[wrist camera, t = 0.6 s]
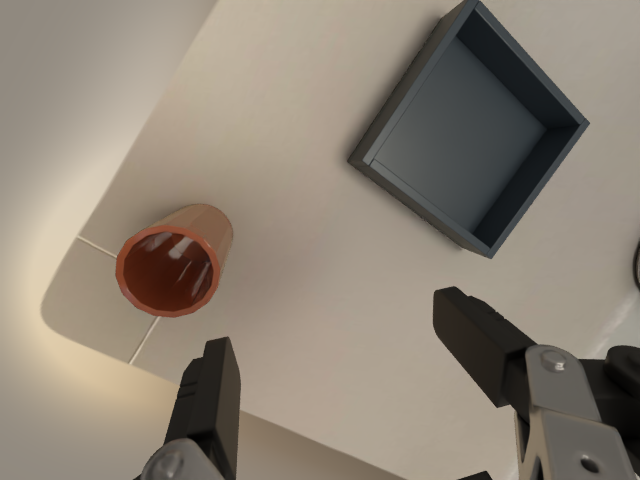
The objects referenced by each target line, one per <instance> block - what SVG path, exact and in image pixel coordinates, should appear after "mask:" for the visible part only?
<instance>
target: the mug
mask: <svg viewBox="0 0 640 480" xmlns="http://www.w3.org/2000/svg"><path fill="white" fill-rule="evenodd" d="M636 273H637V279H638V281H639V284H640V249H639V251H638V256H637V261H636Z"/></svg>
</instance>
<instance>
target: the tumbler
mask: <svg viewBox="0 0 640 480" xmlns="http://www.w3.org/2000/svg"><path fill="white" fill-rule="evenodd" d="M232 240H233V230H232V226H231V223H230V221H229V220H228V218H227V217H226V216H225V214H224V213H222V212H221V211H220V210H219V209H217V208H215V207H213V206H210V205H206V204H193V205H189V206H186V207H184V208H182V209H180V210H178V211H176V212H174V213H172V214H171V215H169V216H167V217H165V218H163V219H161V220H160V221H158V222H156V223H154V224H152V225H150V226H148V227H147V228H145V229H143V230H141V231H140V232H138V233H137V234H136V235H134V236H133V237H131V238H130V239H128V240H127V241H126V243H125V244H124V246H123V248H122V249H121V251H120V253H119V254H118V256H117V261H116V273H115V275H116V279H117V281H118V284H119V287H120V289H121V292H122V293H123V295H124V296H125V297H126V298H127V299H128V300H129V301H130V302H131V303H132V304H133V305H134V306H135V307H136V308H138V309H140V310H143V311H145V312H147V313H149V314H151V315H153V316H154V315H155V316H162V317H173V318H174V317H179V316H183V315H187V314H190V313H193V312H195V311H197V310H198V309H199V308H201V307H202V306H204V305H205V304H207V303H208V302H209V301H210V299H211V297H212V296H213V294H214V293H215V291H216V290H217V288H218V285H219V282H220V279H221V276H222V273H223V270H224V267H225V264H226V261H227V258H228V255H229V252H230V249H231V245H232Z"/></svg>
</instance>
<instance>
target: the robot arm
mask: <svg viewBox="0 0 640 480" xmlns="http://www.w3.org/2000/svg"><path fill="white" fill-rule="evenodd" d="M433 327H434V330H435V332H436V335H437V336H438V338H439V339H440V340H441V341H442V343H443V344H444V345H445V346H446V347H447V349H448V350H449V351H450V352H451V353H452V355H453V356H454V357H455V358H456V359H457V361H458V362H459V363H460V364H461V365H462V367H463V368H464V369H465V370H466V371H467V373H468V374H469V375H470V376H471V377H472V379H473V380H474V381H475V382H476V383H477V385H478V386H479V387H480V388H481V389H482V391H483V392H484V393H485V394H486V395H487V397H488V398H489V399H490V400H491V401H492V403H493V404H494V405H495V406H496V407H497V408H499V407H503V406H506V405H509V404H510V405H511V406H512V407H513V408H514V409H515V413H514V422H515V434H516V445H517V457H518V469H519V480H637V478H636V475H635V473H636V474H637V475H638V476H639V477H640V348H637V347H632V346H624V345H621V346H614V347H612V348H610V349H609V350H608V353H607V356H606V359H605V360H597V359H577V358H576V357H575V356H573V355H572V354H570V353H569V352H567V351H565V350H563V349H560V348H558V347H555V346H550V345H541V344H540V345H538V344H537V343H535V342H534V341H533V340H532V339H530V338H529V337H528V336H527V335H525V334H524V333H523V332H522V331H520V330H519V329H518V328H517V327H515V326H514V325H513V324H512V323H510V322H509V321H508V320H507V319H504V317H503V316H502V315H500V314H499V313H498V312H495V310H494V309H493V308H492V307H490V306H489V305H488V304H487V303H485V302H484V301H482V300H479V299H477V298H475V297H473V296H467V295H465V294H464V293H463V292H462V291H461V290H459V289H458V288H457V287H455V286H453V287H448V288H444V289H439V290H436V291H435V292H434V298H433ZM240 390H241V380H240V372H239V368H238V364H237V361H236V358H235V354H234V351H233V348H232V344H231V341H230V338H229V337H228V336H227V337H223V338H219V339H214V340H210V341H207V342H206V345H205V349H204V354H203V357H201V358H197V359H193V360H192V361H191V363H190V364H189V366H188V367H187V368H186V370H185V371H184V373H183V376H182V380H181V384H180V388H179V391H178V394H177V399H176V402H175V405H174V409H173V412H172V416H171V419H170V423H169V427H168V430H167V434H166V437H165V441H164V444H163V446H162V447H161V448H159V449H158V450H157V451H156V452H155V453H154V454H153V456H151V457H150V459H149V461H148V462H147V463H146V465H145V466H144V469H143V471H142V474H140V475H139V476H138V477H136V478H135V479H133V480H236V467H237V448H238V429H239V428H238V427H239V409H240ZM634 472H635V473H634ZM458 480H492V478H491V477H490V475H489V474H488V472H487V471H483V472H480V473H477V474H474V475H471V476H468V477H465V478H461V479H458Z"/></svg>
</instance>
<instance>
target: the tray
mask: <svg viewBox="0 0 640 480" xmlns="http://www.w3.org/2000/svg"><path fill="white" fill-rule="evenodd" d="M589 124H590V122H589V121H588V120H587V119H586V118H585V117H584V116H583V115H582V114H581V113H580V112H579V110H578V109H577V108H576V107H575V106H574V105H573V104H572V103H571V102H570V100H569V99H568V98H567V97H566V96H565V95H564V94H563V93H562V91H561V90H560V89H559V88H558V87H557V86H556V85H555V84H554V83H553V81H552V80H551V79H550V78H549V77H548V76H547V75H546V74H545V72H544V71H543V70H542V69H541V68H540V67H539V66H538V65H537V64H536V62H535V61H534V60H533V59H532V58H531V57H530V56H529V55H528V53H527V52H526V51H525V50H524V49H523V48H522V47H521V46H520V45H519V43H518V42H517V41H516V40H515V39H514V38H513V37H512V36H511V34H510V33H509V32H508V31H507V30H506V29H505V28H504V27H503V26H502V24H501V23H500V22H499V21H498V20H497V19H496V18H495V17H494V15H493V14H492V13H491V12H490V11H489V10H488V9H487V8H486V7H485V5H484V4H483V3H482V2H481V1H479V0H463V1H462V2H461V3H460V4H459V5H457V6H456V7H455V8H454V9H452V10H451V11H450V12H449V13H447V14H446V15H445V16H444V17H442V19H441V20H440V22H439V23H438V25H437V26H436V28H435V29H434V31H433V32H432V34H431V35H430V37H429V38H428V40H427V41H426V43H425V44H424V46H423V47H422V49H421V50H420V52H419V53H418V55H417V56H416V58H415V59H414V61H413V63H412V64H411V66H410V67H409V69H408V70H407V72H406V73H405V75H404V76H403V78H402V79H401V81H400V82H399V84H398V85H397V87H396V88H395V90H394V91H393V93H392V94H391V96H390V97H389V99H388V100H387V102H386V103H385V105H384V106H383V108H382V110H381V111H380V113H379V114H378V116H377V117H376V119H375V120H374V122H373V123H372V125H371V126H370V128H369V129H368V131H367V132H366V134H365V135H364V137H363V138H362V140H361V141H360V143H359V144H358V146H357V147H356V149H355V150H354V152H353V153H352V155H351V157H350V158H349V160H348V163H350V164H351V165H353V166H354V167H355V168H357V169H358V170H359V171H361V172H362V173H363V174H365V175H366V176H367V177H369V178H370V179H371V180H373V181H374V182H375V183H377V184H378V185H379V186H381V187H382V188H383V189H385V190H386V191H387V192H389V193H390V194H391V195H393V196H394V197H395V198H397V199H398V200H399V201H401V202H402V203H403V204H405V205H406V206H407V207H409V208H410V209H411V210H413V211H414V212H415V213H417V214H418V215H419V216H421V217H422V218H423V219H425V220H426V221H427V222H429V223H430V224H431V225H433V226H434V227H436V228H437V229H438V230H440V231H441V232H442V233H444V234H445V235H446V236H448V237H449V238H450V239H452V240H453V241H454V242H456V243H457V244H458V245H460V246H461V247H462V248H464V249H466V250H469V251H471V252H474V253H477V254H479V255H482V256H484V257H487V258H489V259H492V258H493V256H494V255H495V254H496V252H497V251H498V249H499V248H500V247H501V245H502V244H503V243H504V241H505V240H506V238H507V237H508V236H509V234H510V233H511V232H512V230H513V229H514V227H515V226H516V225H517V223H518V222H519V221H520V219H521V218H522V216H523V215H524V214H525V212H526V211H527V210H528V208H529V207H530V205H531V204H532V203H533V201H534V200H535V199H536V197H537V196H538V194H539V193H540V192H541V190H542V189H543V188H544V186H545V185H546V183H547V182H548V181H549V179H550V178H551V177H552V175H553V174H554V172H555V171H556V170H557V168H558V167H559V166H560V164H561V163H562V161H563V160H564V159H565V157H566V156H567V155H568V153H569V152H570V150H571V149H572V148H573V146H574V145H575V144H576V142H577V141H578V139H579V138H580V137H581V135H582V134H583V133H584V131H585V130H586V128H587V127H588V126H589Z"/></svg>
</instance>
